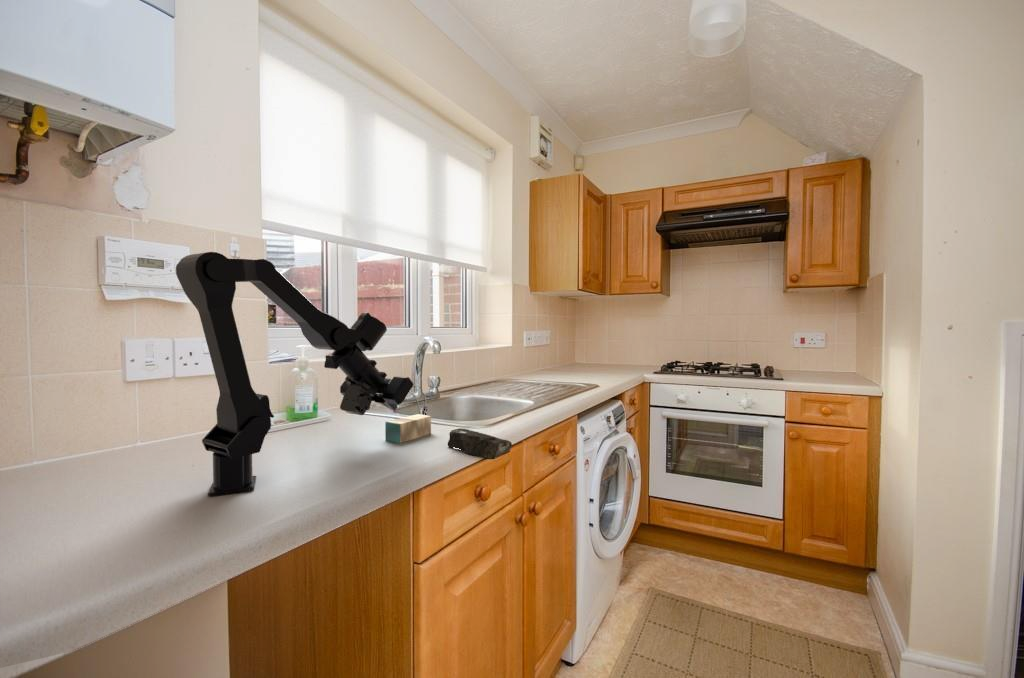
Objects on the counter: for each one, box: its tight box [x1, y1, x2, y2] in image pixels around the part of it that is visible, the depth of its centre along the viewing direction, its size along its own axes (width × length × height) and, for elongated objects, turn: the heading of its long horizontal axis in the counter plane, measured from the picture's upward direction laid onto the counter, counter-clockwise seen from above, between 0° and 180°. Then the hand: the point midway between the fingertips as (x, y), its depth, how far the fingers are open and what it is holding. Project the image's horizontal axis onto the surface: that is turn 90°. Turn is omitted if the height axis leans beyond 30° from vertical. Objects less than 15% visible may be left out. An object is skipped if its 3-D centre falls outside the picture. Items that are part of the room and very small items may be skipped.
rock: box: [447, 428, 513, 460], centre depth 101 cm, size 8×16×4 cm, turn 58°
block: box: [384, 413, 432, 444], centre depth 112 cm, size 4×4×11 cm
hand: (395, 408), depth 108 cm, fingers closed
